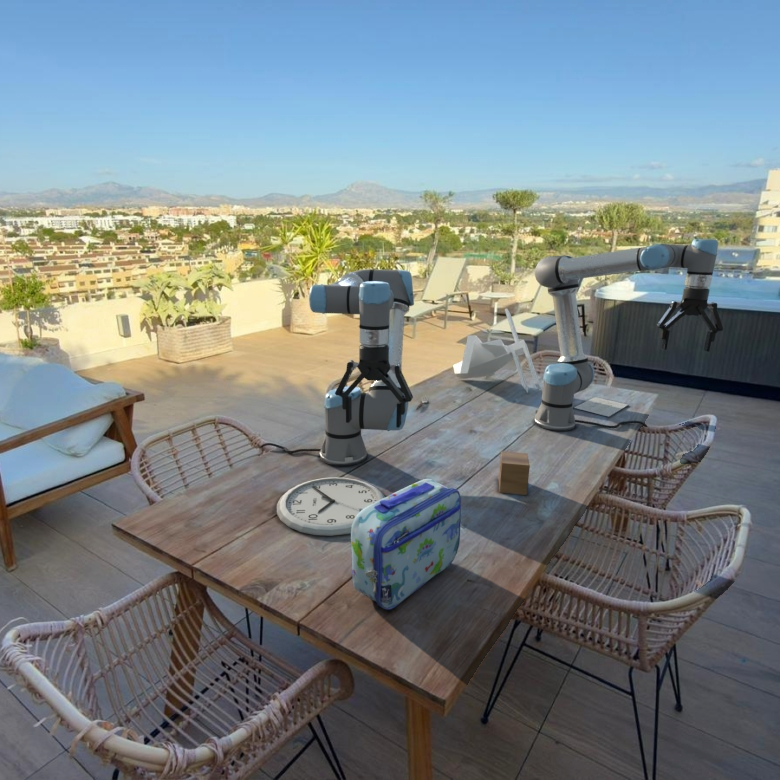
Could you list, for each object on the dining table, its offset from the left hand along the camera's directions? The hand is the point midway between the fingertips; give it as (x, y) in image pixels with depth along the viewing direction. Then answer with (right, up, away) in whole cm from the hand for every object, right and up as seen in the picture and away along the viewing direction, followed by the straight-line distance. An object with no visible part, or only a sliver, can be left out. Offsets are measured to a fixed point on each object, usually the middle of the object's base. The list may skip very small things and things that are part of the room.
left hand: (373, 423), depth 138 cm
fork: (+18, +2, +86) cm, 88 cm away
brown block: (+41, -20, +17) cm, 48 cm away
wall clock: (-11, -23, +5) cm, 26 cm away
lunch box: (+8, -32, -25) cm, 42 cm away
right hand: (+106, +23, +42) cm, 116 cm away
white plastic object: (+54, +11, +115) cm, 128 cm away
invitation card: (+96, +1, +88) cm, 130 cm away
